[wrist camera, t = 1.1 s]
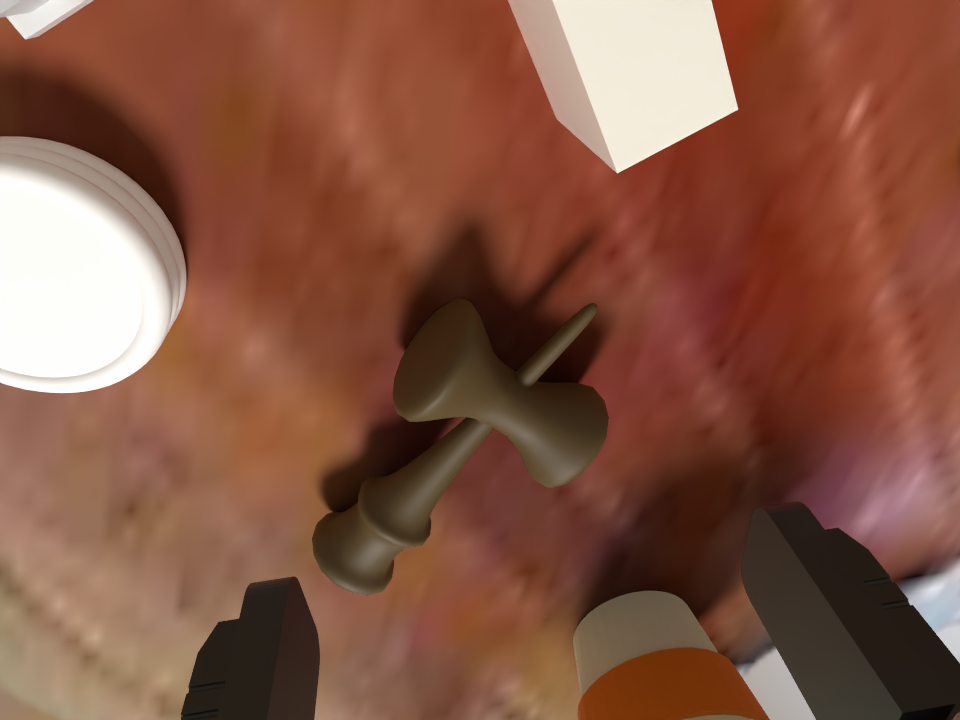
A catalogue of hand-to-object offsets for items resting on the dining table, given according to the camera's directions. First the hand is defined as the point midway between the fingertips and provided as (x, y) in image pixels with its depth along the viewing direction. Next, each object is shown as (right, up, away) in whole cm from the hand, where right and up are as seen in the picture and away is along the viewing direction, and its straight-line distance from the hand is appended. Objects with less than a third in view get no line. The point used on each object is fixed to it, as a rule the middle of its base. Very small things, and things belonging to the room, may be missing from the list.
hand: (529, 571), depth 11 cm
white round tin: (-19, +8, +16) cm, 26 cm away
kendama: (-2, +1, +23) cm, 23 cm away
